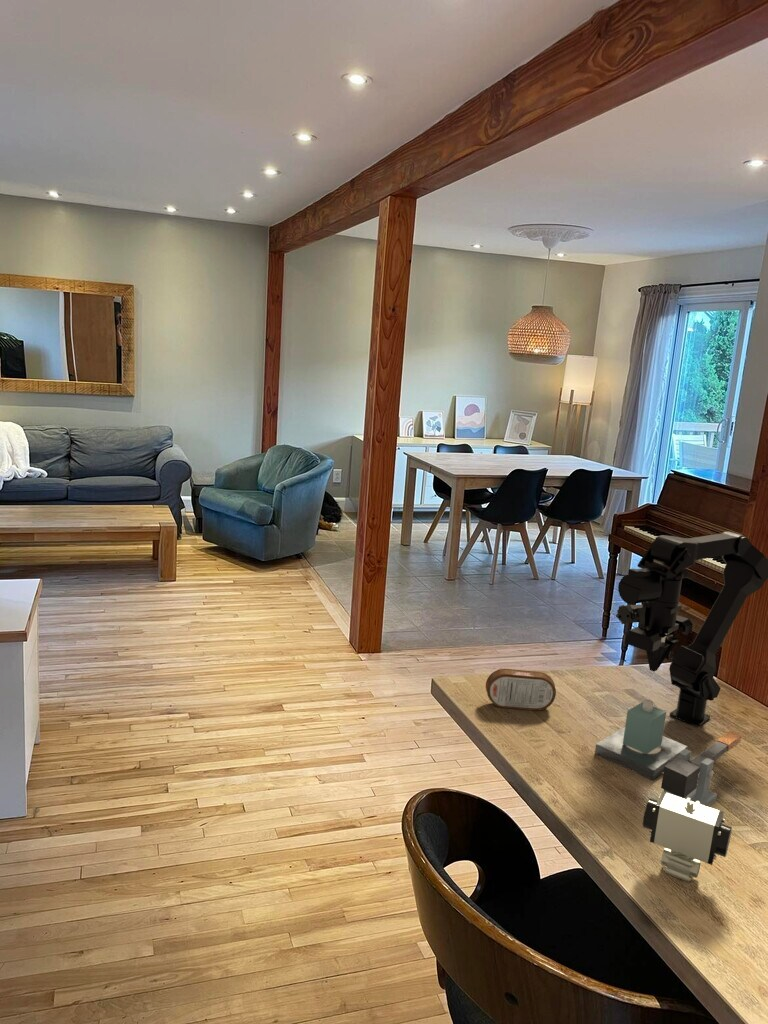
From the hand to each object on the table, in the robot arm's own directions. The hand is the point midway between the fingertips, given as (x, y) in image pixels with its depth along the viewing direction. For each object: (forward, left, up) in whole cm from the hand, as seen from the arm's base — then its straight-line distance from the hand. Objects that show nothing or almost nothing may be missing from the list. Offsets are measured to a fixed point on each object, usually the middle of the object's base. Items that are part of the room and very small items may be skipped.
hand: (653, 670), depth 158 cm
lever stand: (+18, +18, -13) cm, 28 cm away
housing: (+11, +5, -11) cm, 16 cm away
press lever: (+13, +18, -9) cm, 24 cm away
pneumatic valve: (+39, +26, -13) cm, 49 cm away
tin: (+14, -22, -13) cm, 29 cm away
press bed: (+11, +5, -13) cm, 18 cm away
